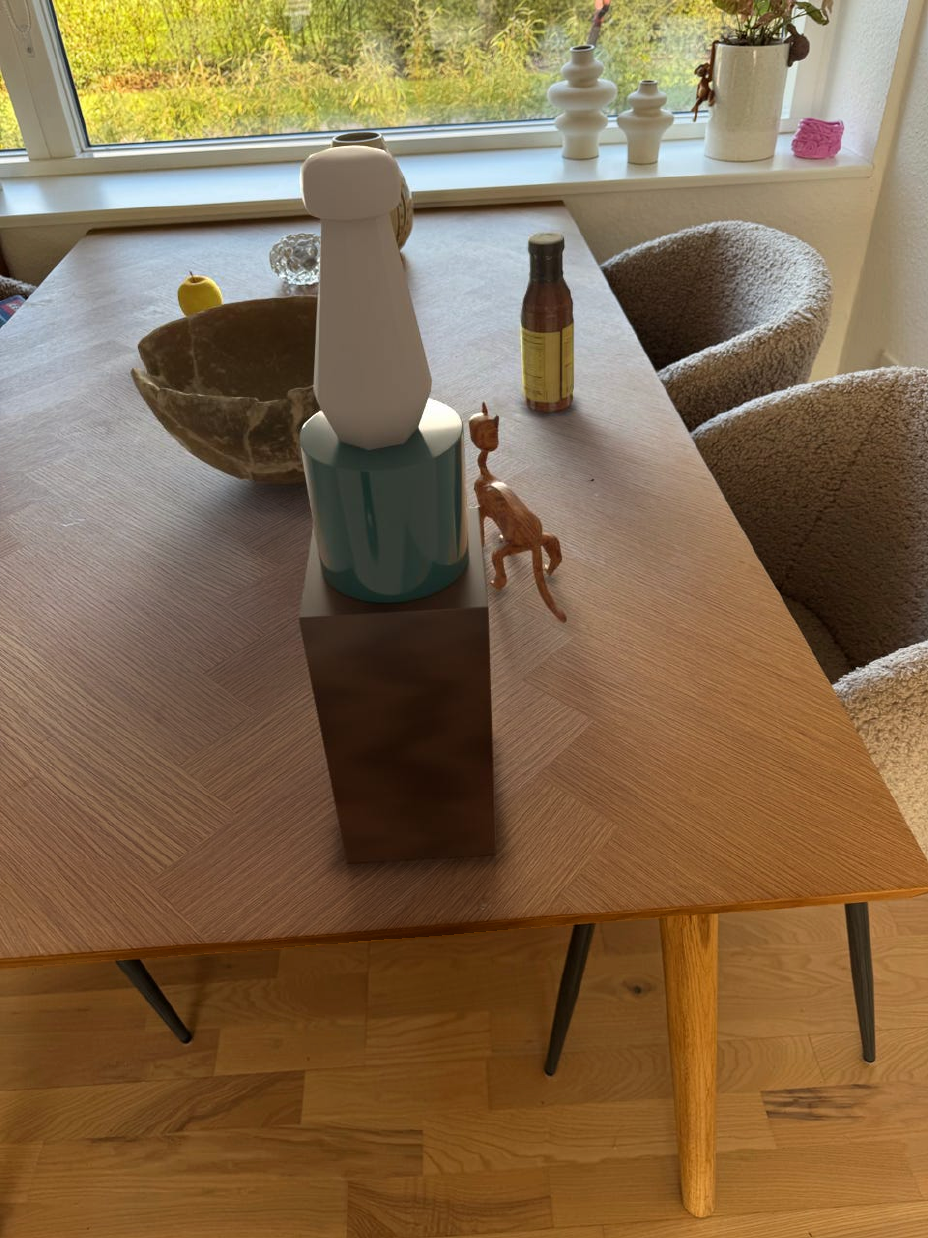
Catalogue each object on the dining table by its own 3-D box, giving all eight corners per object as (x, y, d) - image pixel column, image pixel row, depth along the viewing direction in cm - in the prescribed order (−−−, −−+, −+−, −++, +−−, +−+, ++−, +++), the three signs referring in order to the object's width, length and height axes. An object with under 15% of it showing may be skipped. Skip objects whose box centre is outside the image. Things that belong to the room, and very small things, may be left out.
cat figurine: (598, 622, 80) (607, 484, 71) (530, 644, 78) (531, 505, 69) (507, 521, 93) (506, 395, 84) (447, 538, 91) (440, 410, 82)
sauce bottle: (558, 388, 116) (562, 223, 104) (582, 408, 112) (590, 238, 99) (511, 399, 115) (510, 233, 102) (534, 420, 110) (535, 248, 98)
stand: (346, 863, 61) (298, 618, 48) (354, 752, 69) (314, 515, 56) (496, 855, 61) (488, 607, 48) (487, 745, 69) (478, 505, 56)
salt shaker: (337, 402, 50) (300, 136, 42) (441, 405, 49) (425, 134, 41) (308, 456, 45) (260, 168, 37) (422, 459, 44) (400, 167, 36)
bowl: (149, 550, 92) (106, 412, 82) (174, 426, 112) (142, 305, 103) (425, 518, 94) (414, 380, 85) (400, 403, 115) (389, 282, 105)
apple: (195, 318, 141) (183, 264, 136) (234, 319, 140) (223, 265, 135) (177, 334, 136) (164, 279, 131) (217, 336, 135) (205, 280, 130)
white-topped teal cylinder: (472, 598, 49) (466, 465, 44) (314, 608, 49) (290, 475, 44) (464, 491, 57) (458, 369, 52) (329, 498, 57) (310, 377, 52)
